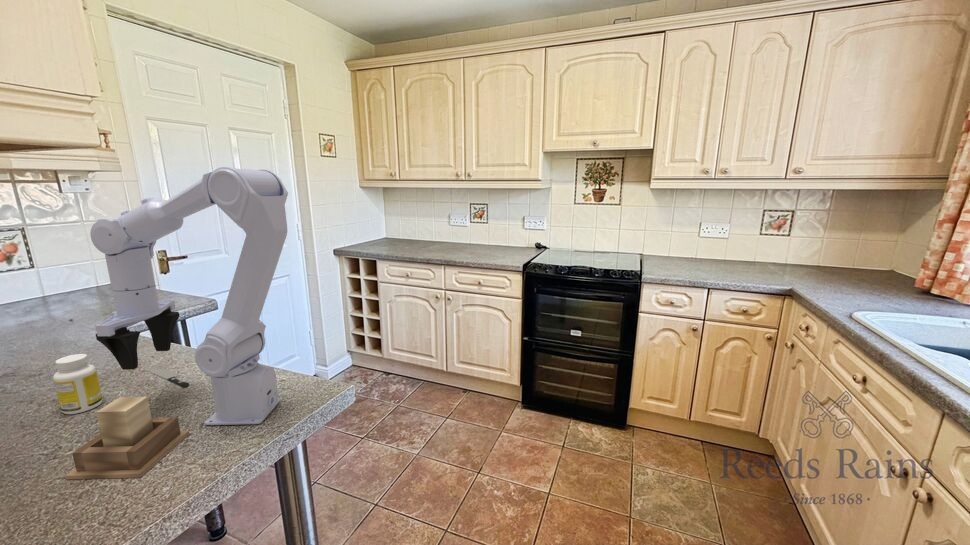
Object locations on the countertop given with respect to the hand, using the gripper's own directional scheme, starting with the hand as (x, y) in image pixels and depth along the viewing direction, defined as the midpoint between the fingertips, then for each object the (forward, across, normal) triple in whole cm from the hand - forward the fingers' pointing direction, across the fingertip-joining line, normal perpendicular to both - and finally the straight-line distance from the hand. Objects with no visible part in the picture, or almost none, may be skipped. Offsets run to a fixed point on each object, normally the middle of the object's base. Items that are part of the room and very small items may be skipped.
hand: (147, 359), depth 70 cm
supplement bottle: (+10, 0, -13) cm, 16 cm away
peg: (+9, +14, +7) cm, 18 cm away
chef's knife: (+10, -13, -7) cm, 17 cm away
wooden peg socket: (+9, +14, +7) cm, 18 cm away
